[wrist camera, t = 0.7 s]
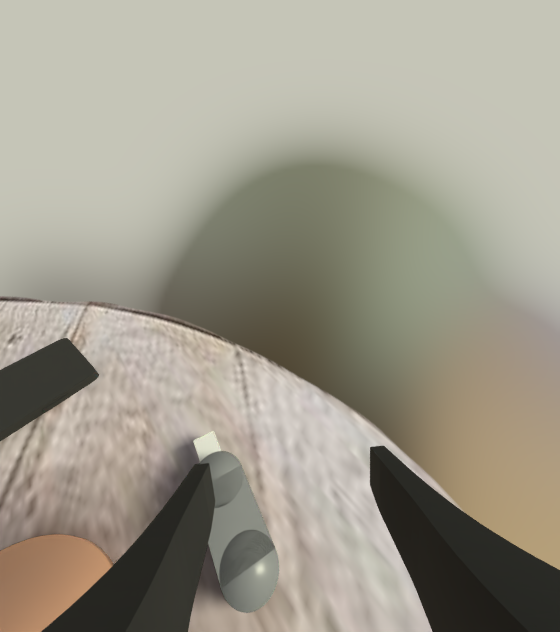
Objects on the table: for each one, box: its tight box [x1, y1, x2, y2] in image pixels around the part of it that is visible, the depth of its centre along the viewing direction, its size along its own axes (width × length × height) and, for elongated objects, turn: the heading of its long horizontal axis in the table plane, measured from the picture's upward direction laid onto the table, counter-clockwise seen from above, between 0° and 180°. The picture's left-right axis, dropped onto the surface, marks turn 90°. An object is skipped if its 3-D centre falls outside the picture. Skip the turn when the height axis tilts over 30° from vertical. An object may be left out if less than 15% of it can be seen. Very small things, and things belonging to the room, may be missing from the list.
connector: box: [194, 431, 279, 613], centre depth 22 cm, size 12×4×5 cm, turn 30°
